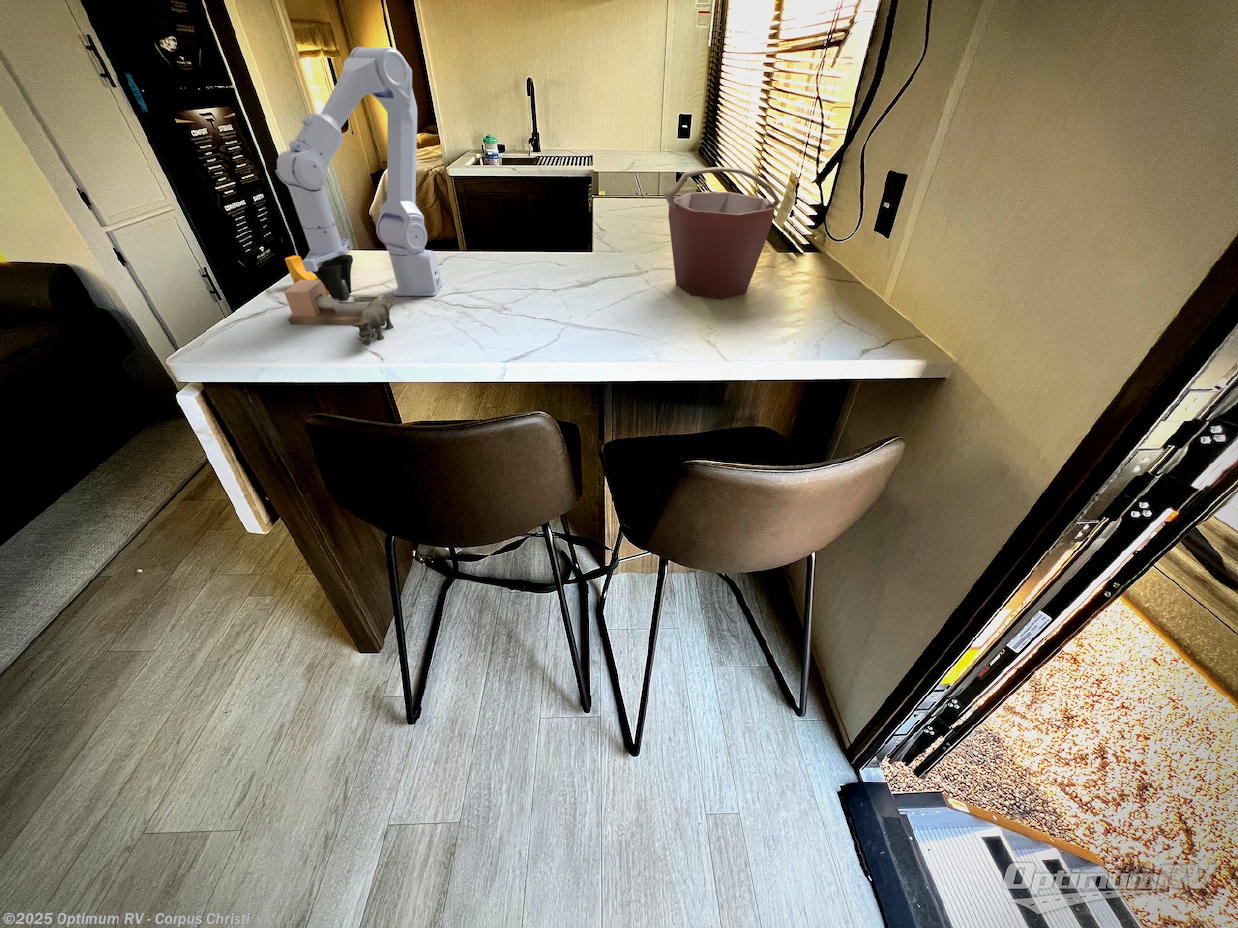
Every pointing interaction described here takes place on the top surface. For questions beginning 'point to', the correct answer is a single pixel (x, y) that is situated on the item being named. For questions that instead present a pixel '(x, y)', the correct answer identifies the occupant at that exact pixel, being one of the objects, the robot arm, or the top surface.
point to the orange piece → (299, 270)
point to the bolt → (328, 301)
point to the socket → (305, 297)
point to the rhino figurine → (373, 321)
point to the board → (329, 317)
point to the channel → (356, 304)
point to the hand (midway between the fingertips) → (342, 296)
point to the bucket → (717, 236)
